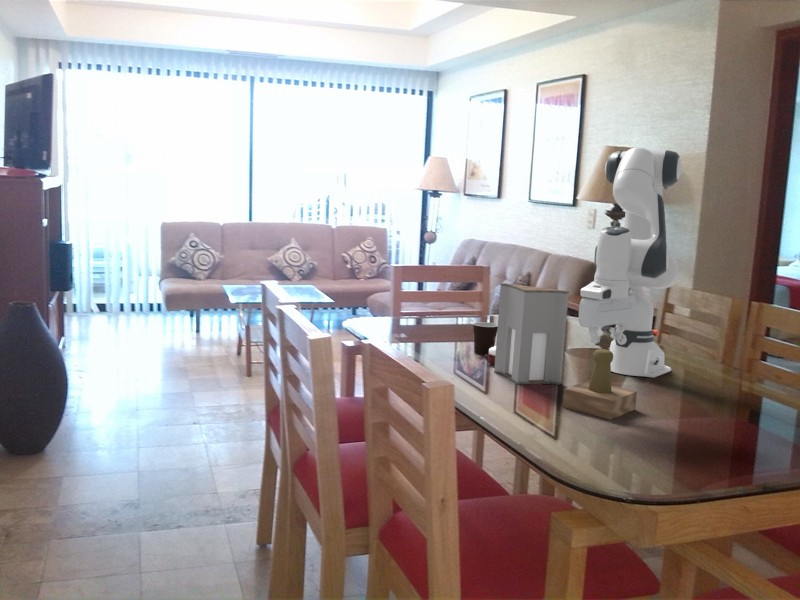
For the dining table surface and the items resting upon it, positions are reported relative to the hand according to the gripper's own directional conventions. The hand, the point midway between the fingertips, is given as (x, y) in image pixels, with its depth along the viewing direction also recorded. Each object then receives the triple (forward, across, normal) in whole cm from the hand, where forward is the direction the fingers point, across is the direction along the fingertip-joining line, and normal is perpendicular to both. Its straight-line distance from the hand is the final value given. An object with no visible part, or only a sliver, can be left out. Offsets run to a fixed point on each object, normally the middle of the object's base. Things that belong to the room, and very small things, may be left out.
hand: (606, 341), depth 202 cm
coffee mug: (+19, -19, -63) cm, 68 cm away
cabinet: (+19, -1, -30) cm, 35 cm away
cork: (+14, +1, 0) cm, 14 cm away
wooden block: (+18, +1, 0) cm, 18 cm away
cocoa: (+19, -10, -48) cm, 52 cm away
